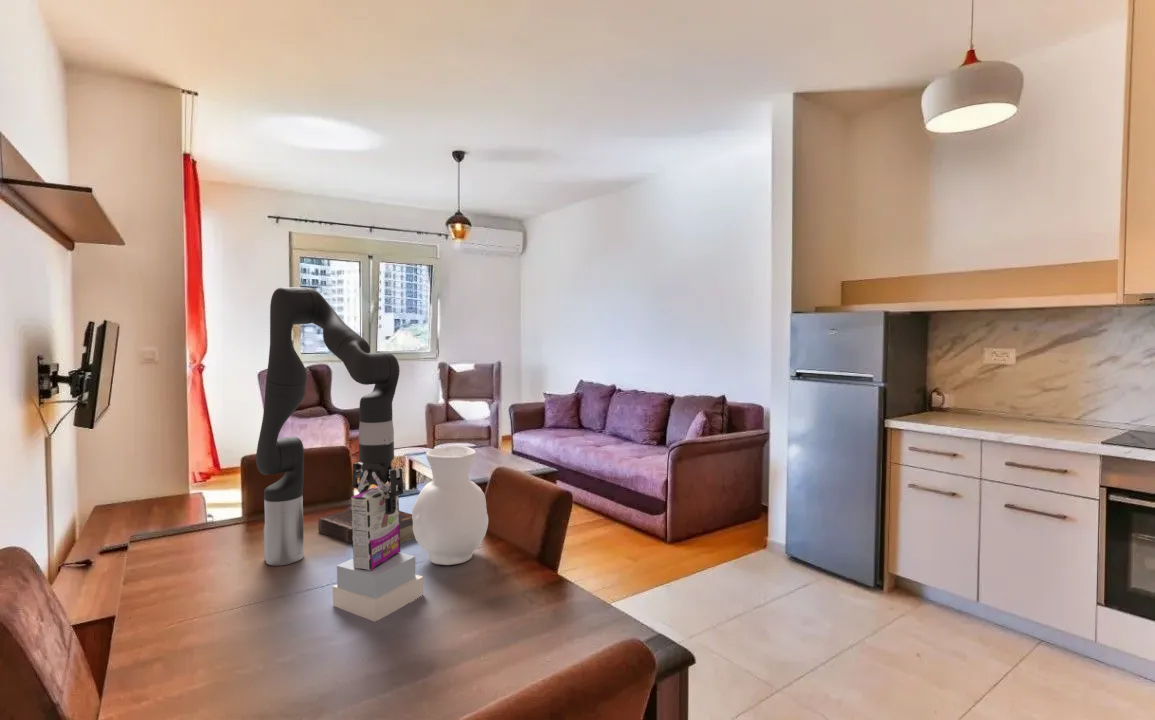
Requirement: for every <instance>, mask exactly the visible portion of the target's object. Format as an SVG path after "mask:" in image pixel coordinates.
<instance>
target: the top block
mask: <svg viewBox="0 0 1155 720" xmlns="http://www.w3.org/2000/svg"><path fill="white" fill-rule="evenodd" d="M416 570H417V569H416V555H411V554H407V553H403V552H401V551H400V552H399V553H398V554H396V555H395V556H393V557H392V558H390V559H389V560H387V561H386V562H384V563H382V564H381V565H379V566H378V567H376V568H375V569H373V570H371V571H368V570H361V569H355V568H354V562H353V558H350V559H349V560H348V559H347V560H346V561H344V562H342V563H340V564H337V565H336V585H337V587H338V588H341V589H344V590H348V591H351V592H354V593H358V594H361V595H365V596H368V597H371V598H375V599H377V598H379V597H381V596H382V595H384V594H386V593H388V592H390V591H391V590H393V589H395V588H397V587H399V586H400V585H402V584H404V583H406V582H408V581H410V580H411V579H413V578H415V577H416V575H417V574H416V573H417V572H416Z"/></svg>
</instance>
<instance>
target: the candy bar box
mask: <svg viewBox="0 0 1155 720" xmlns="http://www.w3.org/2000/svg"><path fill="white" fill-rule="evenodd" d="M388 490H389V492H391V490H390V489H389V488H388ZM396 490H398V485H397V486H396ZM385 498H386V496H385V494H384V492H383V491H382V490H380V488H379V486H376V485H375V486H373V487H372V488H371V487H370V489H369V490H367V491H364V492H362V493H360V494H359V493H358V494H355V495H353V496H351V497H350V506H351V508H350V509H352V534H353V535H352V537H353V544H352V555H353V556H352V557H353V558H352V559H353V562H354V568H355V569H361V570H368V571H371V570H373V569H375V568H376V567H378V566H379V565H381V564H382V563H384V562H386V561H387V560H389V559H390V558H392V557H393V556H395V555H396V554H398V553H399V552H400V553H401V544H400V530H399V511H400V507H399V506H400V505H399V504H400V503H399V501H400V500H399V495H398V496H396V511H395V513H393V514H390V515H388V514H386V513H385Z"/></svg>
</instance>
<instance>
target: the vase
mask: <svg viewBox="0 0 1155 720" xmlns="http://www.w3.org/2000/svg"><path fill="white" fill-rule="evenodd" d="M425 456H426V459H427V461H428V462H427V463H428V464H429V466H430V469H431V475H432V479H431V481H429V482H428V483H427V484H425V485H424V486H423V488H422V489H421V491H420V492H419V494H418V495H417V497H416V501H415V503H414V505H413V507H412V512H411V514H412V519H413V533H414V536H415V541H416V542H417V543H418V544H419V546H420V547H421V549H424V550H425V551H427V552H428V554H429V556H428V560H429V561H430V562H431V563H432V564H435V565H444V566H451V565H459V564H463V563H465V562H467V561H469V560H471V559H472V557H473V553H474V552H475V551H476V550H477V549H478V548H479V546H480V545H481V543H482V541H483V540H484V538H485V536H486V534H487V530H488V526H489V515H488V509H487V501H486V495H485V493H484V491H483V490H482V488H481V487H480V486H479V485H478V484H476V482H474V481H472V480H471V479H469V477H470V472H471V468H472V465H473V462H474V460H475V459H476V456H477V451H476V450H475V449H474V448H471V447H469V446H463V445H451V446H449V445H448V446H445V447H437V448H431V449H429V450H427V451H426V453H425Z"/></svg>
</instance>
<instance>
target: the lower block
mask: <svg viewBox="0 0 1155 720" xmlns="http://www.w3.org/2000/svg"><path fill="white" fill-rule="evenodd" d="M422 595H423V596H424V576H423V575H419V574H416V577H415V578H413V579H411V580H410V581H408V582H406V583H404V584H402V585H400V586H399V587H397V588H395V589H393V590H391V591H390V592H388V593H386V594H384V595H382V596H381V597H379V598H377V599H375V598H371V597H368V596H365V595H361V594H358V593H354V592H351V591H348V590H344V589H341V588H338V587H337V584H334V585H332V606H333V607H335V608H338V609H341V610H343V611H345V612H349V613H351V614H354V615H356V616H358V617H362V618H364V619H366V620H368V621H372V622H377V621H379V620H381V619H383V618H385V617H387V616H389V615H390V614H392V613H394V612H396V611H398V610H400V609H401V608H402V607H403V608H404V607H405V606H407V605H409V604H411V603H412V602H414V601H416V600H418V599H420V598H421V597H423V596H422ZM420 596H421V597H420ZM419 597H420V598H419ZM417 598H418V599H417ZM415 599H416V600H415ZM408 603H409V604H408ZM406 604H407V605H406Z"/></svg>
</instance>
